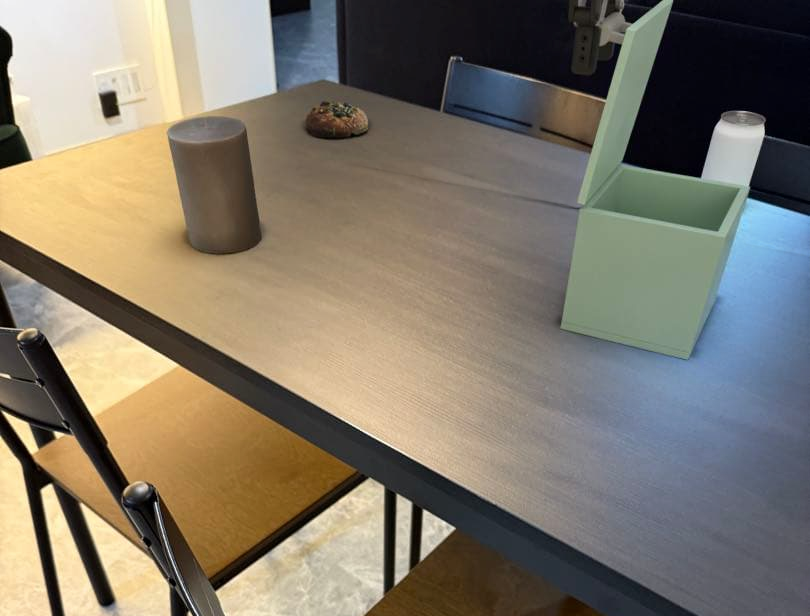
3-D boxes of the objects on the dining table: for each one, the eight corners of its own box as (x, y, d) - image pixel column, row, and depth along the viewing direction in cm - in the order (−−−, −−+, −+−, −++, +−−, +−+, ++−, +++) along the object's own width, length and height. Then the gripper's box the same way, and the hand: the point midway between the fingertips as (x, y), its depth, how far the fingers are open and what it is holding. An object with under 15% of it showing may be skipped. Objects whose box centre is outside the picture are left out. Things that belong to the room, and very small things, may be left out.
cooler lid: (673, -1, 73) (626, -13, 74) (635, 30, 65) (582, 16, 66) (622, 160, 84) (581, 148, 86) (584, 205, 76) (539, 190, 77)
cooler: (713, 303, 90) (750, 186, 80) (687, 360, 81) (725, 236, 72) (596, 277, 94) (618, 164, 85) (560, 328, 86) (579, 208, 76)
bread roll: (298, 136, 130) (297, 103, 127) (315, 125, 138) (314, 93, 135) (362, 143, 129) (362, 109, 126) (374, 131, 137) (375, 99, 134)
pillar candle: (276, 237, 102) (261, 115, 92) (218, 262, 97) (195, 135, 87) (231, 217, 107) (212, 98, 96) (173, 239, 102) (146, 117, 91)
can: (690, 214, 108) (715, 121, 99) (696, 197, 112) (720, 107, 103) (738, 221, 106) (767, 128, 98) (742, 204, 110) (770, 113, 102)
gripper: (648, -169, 56) (608, 90, 68) (690, -178, 65) (649, 52, 77) (551, -169, 59) (529, 81, 71) (605, -178, 68) (577, 45, 80)
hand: (592, 65), depth 74 cm, fingers closed on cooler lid, 5 cm apart
